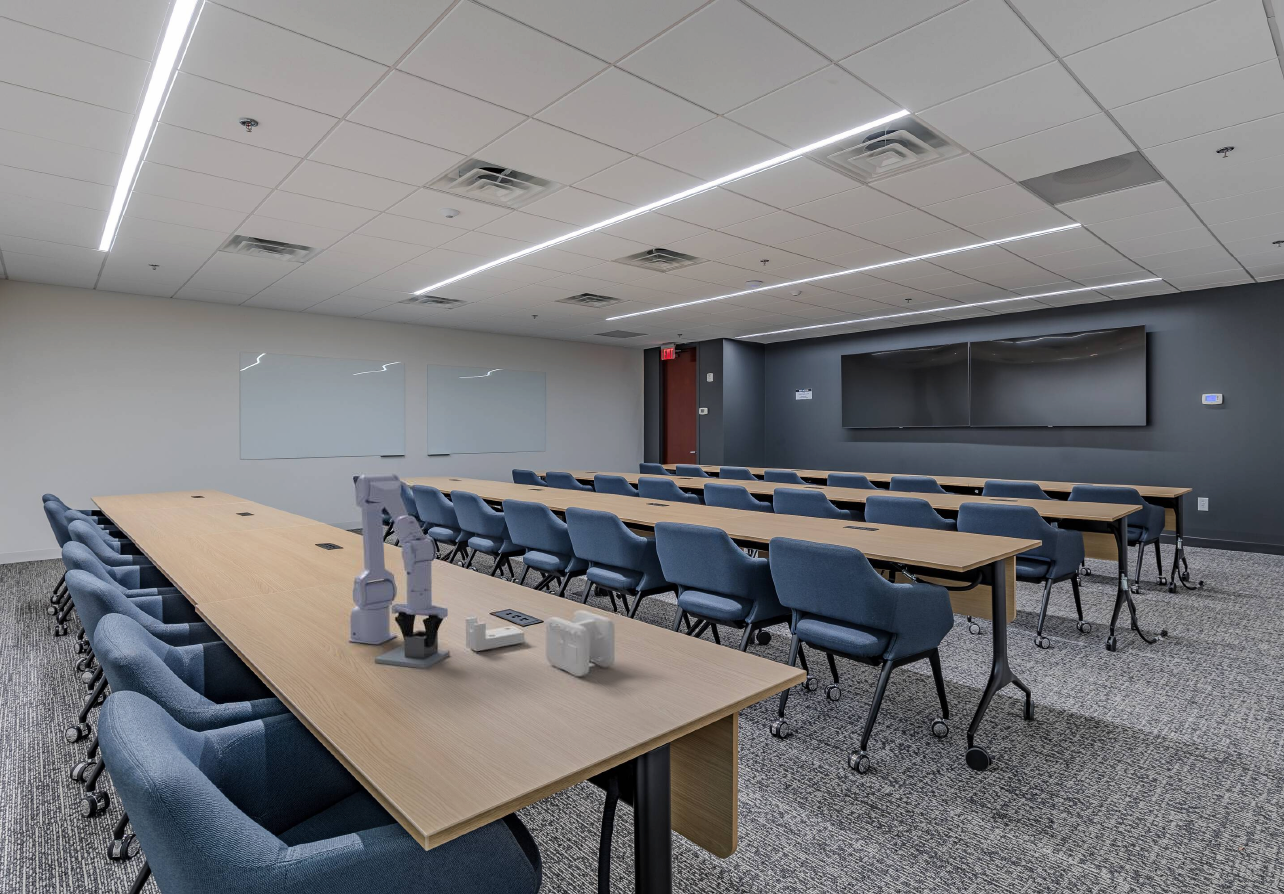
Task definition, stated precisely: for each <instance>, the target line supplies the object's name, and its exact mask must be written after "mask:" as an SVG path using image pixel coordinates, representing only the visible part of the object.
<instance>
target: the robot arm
mask: <svg viewBox="0 0 1284 894" xmlns="http://www.w3.org/2000/svg"><path fill="white" fill-rule="evenodd" d="M354 488H355V490H354V491H355V504H356V507H359V508H360V509H361V520H362V521H361V526H362V540H363V543H362V544H363V560H364V561H363V562H364V563H363V564H364V569H363V570H362V571H361V572H360V573H359V574H357V575H356V577H355V578H354V580H353V589H352V599H353V602H354V603H353V604H355V607H353V609H352V611H351V613H350V638H349V639H347V640H348V642H352V643H360V644H361V643H362V644H370V645H380V644H383V643H385V642H387V641H389V640H391V639H393V638H397V636H398V634H397V633H391V627H390V626H391V623H390V617H391V616H390V613H391V614H392V615H396V614H397V616H395V617H394V621H395V623H396V624H397V625H398V628H399V629H400V631H401V633H402V634H401V635H402V637H403V639H404V637H405V636H407V635H409V634H411V633H413V632H414V626H415V621H416V617H417V616H424V617H426V618H423V619H422V623H423V625H424V629H425V630H424V631H426V645H427V647H431V646H433V645H434V643H435V639H436V635H437V632H438V633H439V629H440V626H441V624H442V623H443V621H444V619H445V618H447V617H448V615H449V614H448V612H449V611H448V607H445V608H444V607H442V606H437V605H433V598H432V597H433V595H432V593H433V591H432V587H433V586H432V580H433V579H432V561H435V560H436V555H437V546H436V544H435V541H434V539H433V538H432V537H429V536H428V534H424V532H423V529H421V526H420V525H419V522H418V520H417V519H416V518H415V517H414V516H413V515H409V513H408V511H407V508H406V506H405V503H404V500H403V499H402V497H401V494H402V481H401V479H400V478H399V476H398V474H396V473H391V474H373V475H371V474H370V475H363V474H362V475H360V476H359V477H358V479H357V480H356V482H355V485H354ZM384 508H385V509H386V511H387V512H388V513H389V516H390V517H391V519H392V520H393V522H394V523H393V525H392V530H393V532H394V533H395V535H396V537H397V539H398V541H399V543H400V545H401V547H402V548H401V552H400V553H401V559H402V561H403V569H404V571H405V572H406V603H395V604H393V602H394V601H395V599H396V597H397V595H398V587H397V584H396V580H395V575H394V574H393V573H392V572H391V571H389V570H388V569H386V568H385V566H386V565H385V563H386V562H385V550H384V549H385V548H384V547H385V545H384V529H383V528H384V527H383V509H384ZM390 606H391V607H390ZM390 608H391V610H390ZM390 611H391V612H390Z"/></svg>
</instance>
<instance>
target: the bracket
mask: <svg viewBox="0 0 1284 894" xmlns="http://www.w3.org/2000/svg"><path fill="white" fill-rule="evenodd" d="M486 625H487V624H486V622H485V621H484V622H479V623H478V617H476V616H472V617H466V618H465V647H466V648H467V649H469V650H470V651H475V652H479V651H485V650H490V649H496V648H500V647H506V646H511V645H516V644H522V643H525V631H523V630H521V628H518V627H517V626H514V625H510V626H509V625H508V626H505V627H499V628H493V629H492V628H491V629H486V628H487V627H486Z"/></svg>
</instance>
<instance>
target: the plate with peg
mask: <svg viewBox="0 0 1284 894" xmlns="http://www.w3.org/2000/svg"><path fill="white" fill-rule="evenodd" d="M449 656H450V650H441V649H438V653H436V654H434V655H432V656H430V657H428V658H426V659H415V658H407V657H405V645H399V646H398V647H396V648H394V649H391V650H390V651H388V652H386V653H383V654H382V655H378V656H377V657H375V658H374V664H375V663H376V664H383V665H393V666H400V667H409V668H415V669H424V670H425V669H427V668H429V667H430V666H433V665H434V664H436V663H438V662H440V661H442V660H443V659H445V658H448V657H449Z"/></svg>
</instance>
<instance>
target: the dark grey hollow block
mask: <svg viewBox="0 0 1284 894" xmlns="http://www.w3.org/2000/svg"><path fill="white" fill-rule="evenodd" d="M438 635H439V631H438V632H437V635H436V639H435V643H434V645H433V646H431V647H427V645H426V631H425V630H420V629H418V630H416V631H413V633H411V634H409V635H407V636H405V637H404V638H403V641H404V646H405V657H407V658H415V659H426V658H428V657H430V656H432V655H434V654H436V653H438V650H439V637H438Z"/></svg>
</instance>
